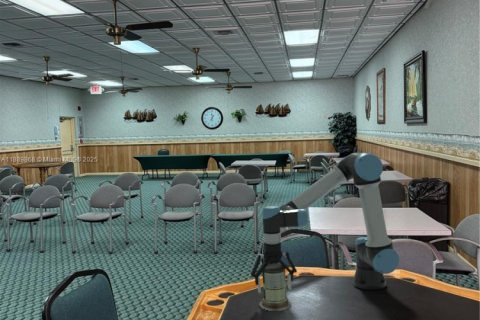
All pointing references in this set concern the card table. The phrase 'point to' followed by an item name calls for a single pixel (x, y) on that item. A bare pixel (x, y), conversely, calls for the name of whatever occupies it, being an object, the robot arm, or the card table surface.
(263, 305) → the brown domed disc
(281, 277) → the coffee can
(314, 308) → the card table surface
